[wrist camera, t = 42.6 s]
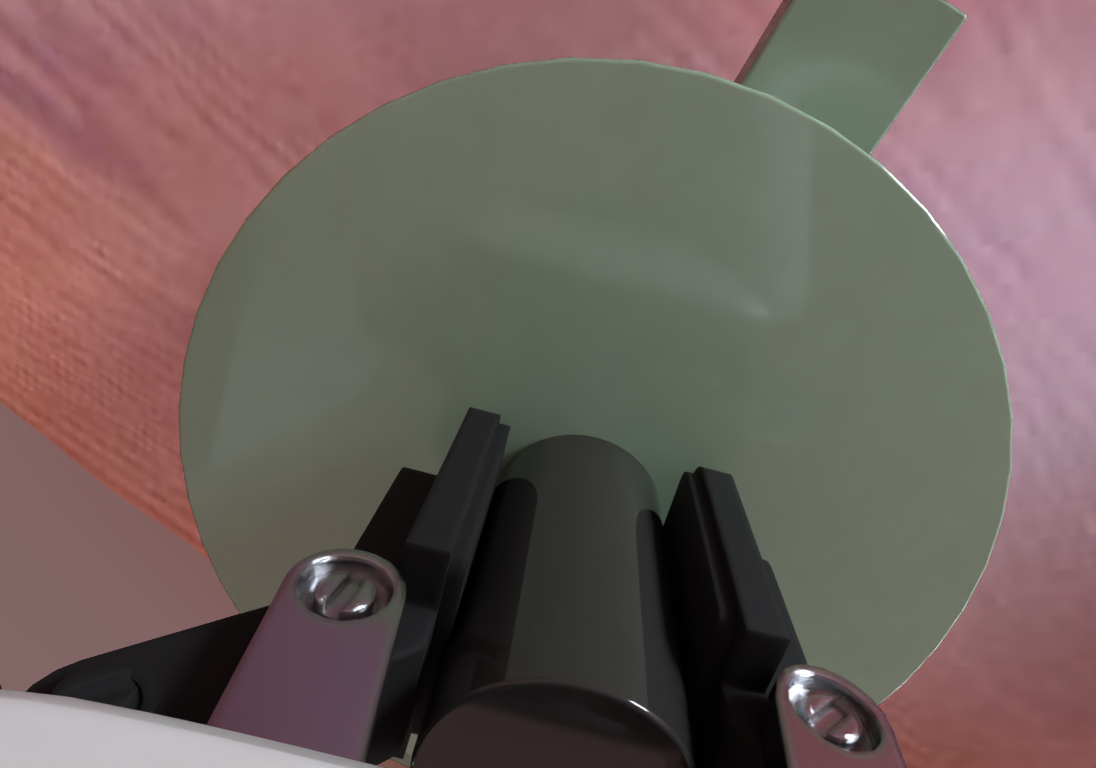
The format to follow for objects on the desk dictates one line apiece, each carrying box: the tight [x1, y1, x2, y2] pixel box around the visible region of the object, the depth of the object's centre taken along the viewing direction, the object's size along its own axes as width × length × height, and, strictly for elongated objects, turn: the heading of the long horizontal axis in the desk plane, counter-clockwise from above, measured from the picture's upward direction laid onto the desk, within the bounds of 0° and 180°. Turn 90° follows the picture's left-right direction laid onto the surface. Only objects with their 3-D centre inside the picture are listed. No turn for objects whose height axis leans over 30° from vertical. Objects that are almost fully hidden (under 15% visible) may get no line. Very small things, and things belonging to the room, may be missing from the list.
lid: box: [179, 57, 1013, 768], centre depth 10 cm, size 15×15×7 cm
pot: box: [390, 0, 967, 768], centre depth 19 cm, size 14×19×14 cm
